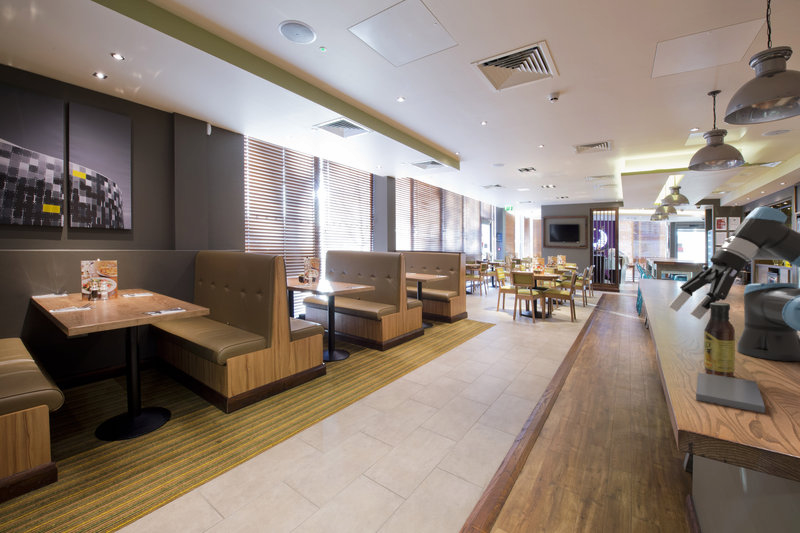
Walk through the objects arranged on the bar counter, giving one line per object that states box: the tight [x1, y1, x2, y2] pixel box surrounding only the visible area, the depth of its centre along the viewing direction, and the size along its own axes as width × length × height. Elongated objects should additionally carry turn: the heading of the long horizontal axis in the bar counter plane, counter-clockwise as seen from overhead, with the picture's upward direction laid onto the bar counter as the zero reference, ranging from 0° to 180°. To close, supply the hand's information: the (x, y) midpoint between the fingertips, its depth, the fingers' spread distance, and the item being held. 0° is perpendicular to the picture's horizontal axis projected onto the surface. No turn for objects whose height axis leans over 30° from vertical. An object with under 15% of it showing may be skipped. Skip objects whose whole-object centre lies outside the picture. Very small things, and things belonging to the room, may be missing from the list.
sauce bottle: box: [703, 301, 736, 378], centre depth 95 cm, size 6×6×20 cm
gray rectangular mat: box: [695, 371, 766, 414], centre depth 83 cm, size 18×11×2 cm, turn 138°
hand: (682, 312), depth 106 cm, fingers open, 13 cm apart
